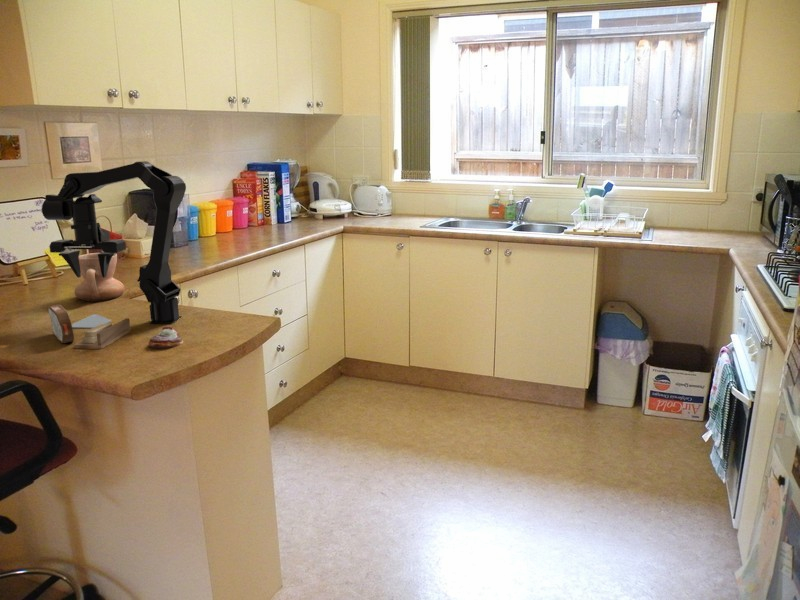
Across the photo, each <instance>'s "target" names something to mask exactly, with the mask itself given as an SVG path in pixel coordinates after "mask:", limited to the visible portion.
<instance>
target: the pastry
mask: <svg viewBox="0 0 800 600" xmlns="http://www.w3.org/2000/svg"><path fill="white" fill-rule="evenodd" d="M179 335H180V334H179V333H178V332H177V331H176V330H175V329H173V326H171V325H166V326H164V327H162V329H161V331H160V332H159V333H157V334H155V335H153V336H152V337H151V338H150V339H149V341H148V347H149V348H150V349H153V350H168V349H173V348H175V347H178V346H180V345H183V343H184V340H183V339H182V338H180V337H179Z"/></svg>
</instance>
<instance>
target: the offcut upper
mask: <svg viewBox="0 0 800 600" xmlns="http://www.w3.org/2000/svg"><path fill="white" fill-rule="evenodd" d="M112 325H113V324H112V323H110V322H108V323H102V324H100V325H98V326H96V327H94V328H91V329H88V330H86V331H84V337H96V336H97V333H99V332H101V331H102V330H104V329H106V328H108V327H110V326H112Z"/></svg>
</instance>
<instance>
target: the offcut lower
mask: <svg viewBox="0 0 800 600" xmlns="http://www.w3.org/2000/svg"><path fill="white" fill-rule="evenodd" d="M81 341H82V343H95V342H97V336H96V337H85V336H82V337H81Z"/></svg>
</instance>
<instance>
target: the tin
mask: <svg viewBox="0 0 800 600" xmlns="http://www.w3.org/2000/svg"><path fill="white" fill-rule="evenodd" d="M47 307H48V308H47V312H48V315H49V319H50V326H51V329H52V333H53V334H54V336H55V337H56V339H57V340H58V341H59V343H61V344H68V343H73V342H74V341H75V336H74V335H75V334H74V329H73V328H72V324H73V323H72V321H71V317H70V315H69V313H68V310H67V309H65V308H64V307H63V306H62V305H61V304H60V303H58V304H54V305H50V306H47Z"/></svg>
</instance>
